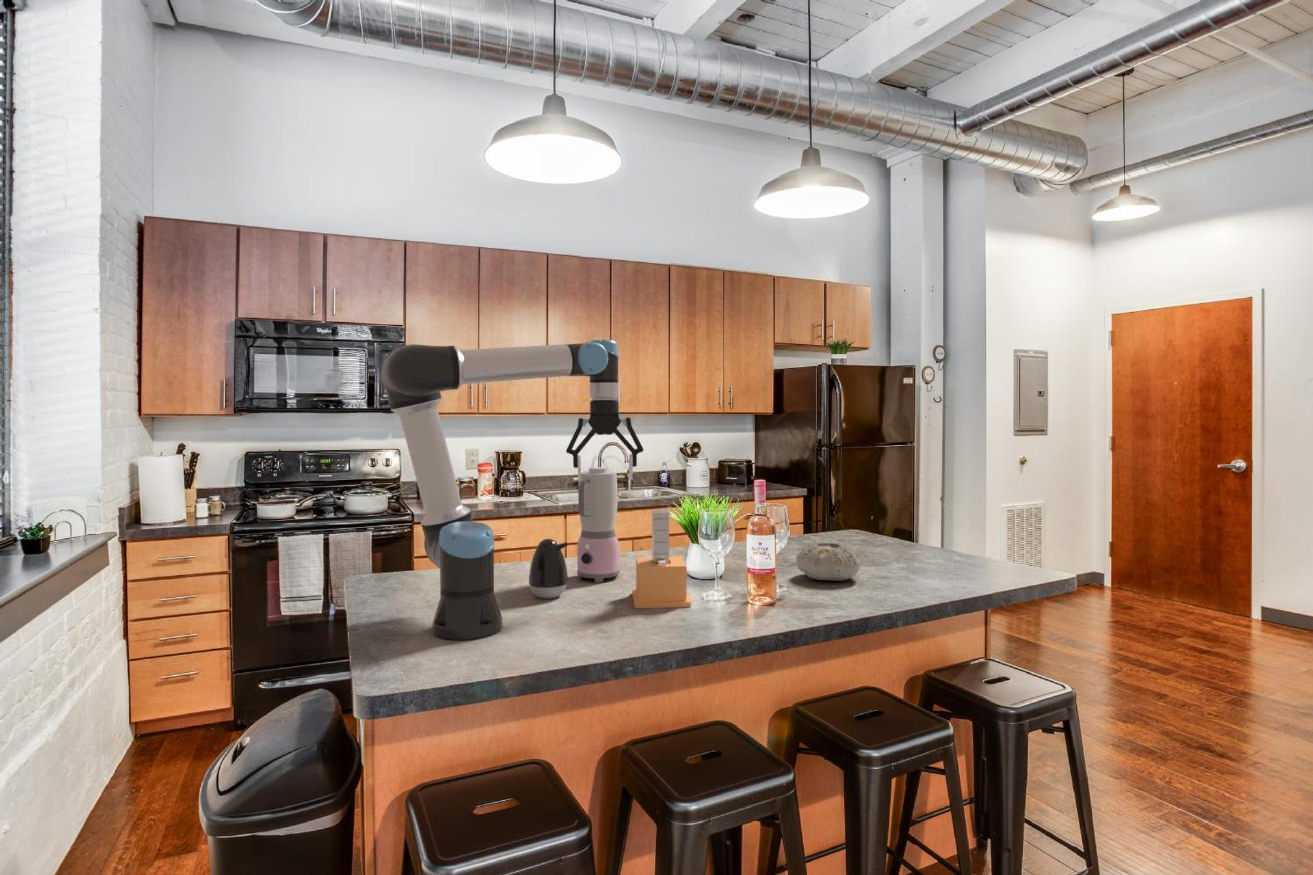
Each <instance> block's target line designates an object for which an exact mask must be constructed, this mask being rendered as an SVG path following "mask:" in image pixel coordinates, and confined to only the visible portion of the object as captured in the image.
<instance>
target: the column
mask: <svg viewBox="0 0 1313 875" xmlns="http://www.w3.org/2000/svg"><path fill="white" fill-rule="evenodd" d="M651 515H652V516H651V517H652V518H651V522H652V523H651V524H652V525H651V529H652V530H651V531H652V532H651V541H652V542H651V544H652V546H651V548H652V549H651V553H652V556H651V557H652V564H658V560H665V561H666V564H669V556H670V511H669V510H668V509H651Z"/></svg>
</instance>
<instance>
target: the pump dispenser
mask: <svg viewBox="0 0 1313 875" xmlns="http://www.w3.org/2000/svg"><path fill="white" fill-rule="evenodd" d="M568 546H569V545H568V542H562V543H559V544H558V543H557V541H556V540H554V539H552V538H545V539H544V538H543V539H542V540H540V542H539V543H538V544H537V547H536V548H535V551H534V553H533V556H532V559H531V561H530V562H531V563H530V567H529V575H528V584H529V586H530V590H531V592H532V593H533V595H534V596H536V597H538V598H540V599H544V600H545V599H556V598H558V597H560V596H561V595H562V594H564V592H565V591H566V587H567V584H568V582H569V578H568V577H569V575H568V569H567V565H566V564H567V563H566V560H565V558H564V554H563V552H562V549H564V548H566V547H568Z"/></svg>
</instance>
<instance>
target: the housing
mask: <svg viewBox="0 0 1313 875" xmlns="http://www.w3.org/2000/svg"><path fill="white" fill-rule="evenodd" d="M635 578H636V579H635V581H636V582H635V584H636V585H635V588H632V590H631V591H632V592H631V595H632V601H633V605H634V609H654V608H655V609H657V608H658V609H659V608H662V609H663V608H691V607H692V602H691V600H690V597H689V595H688V593H687V565H686V563H685V561H684V559H683V557H682V556H681V555H674V556H671V555H669V564H666V561H665V560H658V564H652V556H636V558H635Z"/></svg>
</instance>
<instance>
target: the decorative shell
mask: <svg viewBox="0 0 1313 875" xmlns="http://www.w3.org/2000/svg"><path fill="white" fill-rule="evenodd" d="M796 566H797V569H798V570H799V571H800V572H801V573H803V574H805V576H807V577H809V579H815V580H818V581H829V582H831V581H832V582H841V581H846V580H849V579H851V578H853V577H854V576H856V575H857V574H858V572H859V571H860V569H861V567H860V566H861V563H860V559H859V555H858V554H857V553H856V552H855V551H854V550H853V549H852V548H850V547H848V546H847V545H845V544H844V543H843V544H842V543H840V542H831V543H830V542H820V541H819V542H815V543H809V545H807V546H805V547H804V548H802V549H801V550H800V552H799V553H798V554H796Z"/></svg>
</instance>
